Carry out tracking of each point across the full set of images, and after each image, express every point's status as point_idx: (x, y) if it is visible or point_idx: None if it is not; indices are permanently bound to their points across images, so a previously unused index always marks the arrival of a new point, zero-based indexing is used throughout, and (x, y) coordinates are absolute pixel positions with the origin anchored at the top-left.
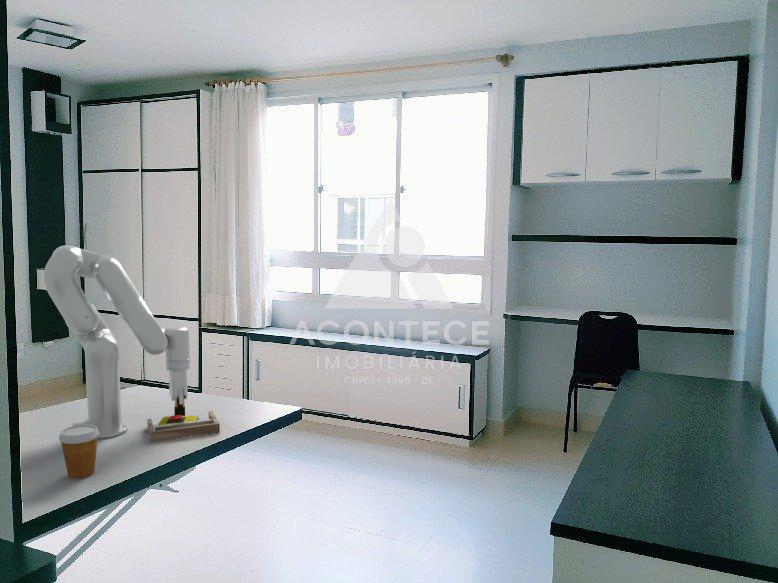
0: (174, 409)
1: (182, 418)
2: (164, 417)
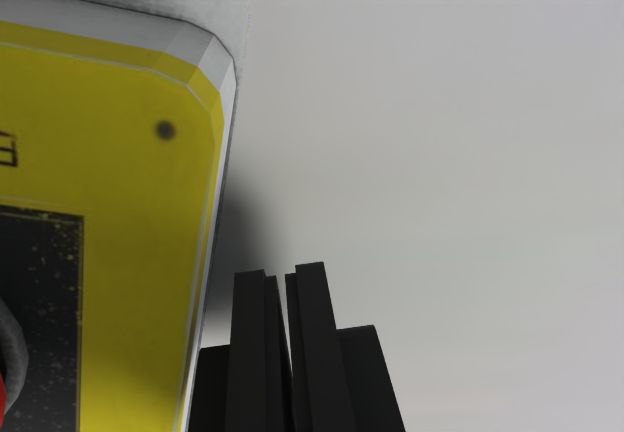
0: (336, 379)
1: (11, 428)
2: (130, 109)
